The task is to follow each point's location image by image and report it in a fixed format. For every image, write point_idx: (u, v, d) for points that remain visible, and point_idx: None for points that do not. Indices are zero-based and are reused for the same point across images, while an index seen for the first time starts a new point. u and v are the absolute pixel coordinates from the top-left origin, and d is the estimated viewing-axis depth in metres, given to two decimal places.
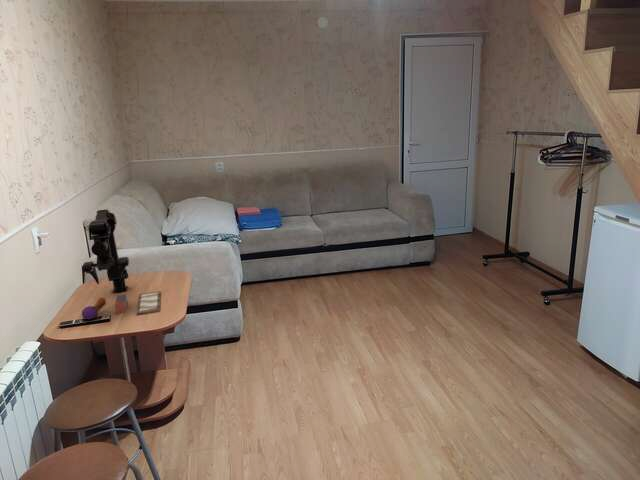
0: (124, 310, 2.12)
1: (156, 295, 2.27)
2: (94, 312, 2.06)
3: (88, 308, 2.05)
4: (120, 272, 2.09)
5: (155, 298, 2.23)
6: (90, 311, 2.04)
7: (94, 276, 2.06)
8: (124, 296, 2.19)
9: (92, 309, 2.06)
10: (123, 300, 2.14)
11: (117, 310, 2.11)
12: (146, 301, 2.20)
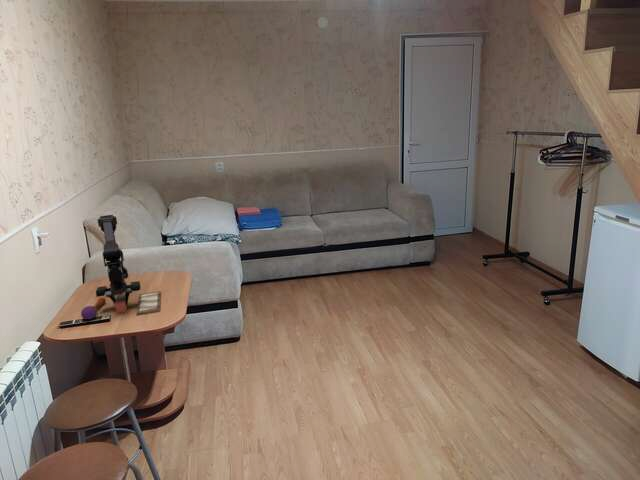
0: (124, 310, 2.12)
1: (156, 295, 2.27)
2: (93, 312, 2.06)
3: (87, 308, 2.05)
4: (127, 297, 2.15)
5: (155, 298, 2.23)
6: (89, 311, 2.05)
7: (113, 299, 2.14)
8: (124, 296, 2.19)
9: (91, 309, 2.06)
10: (123, 300, 2.14)
11: (117, 310, 2.11)
12: (146, 301, 2.20)
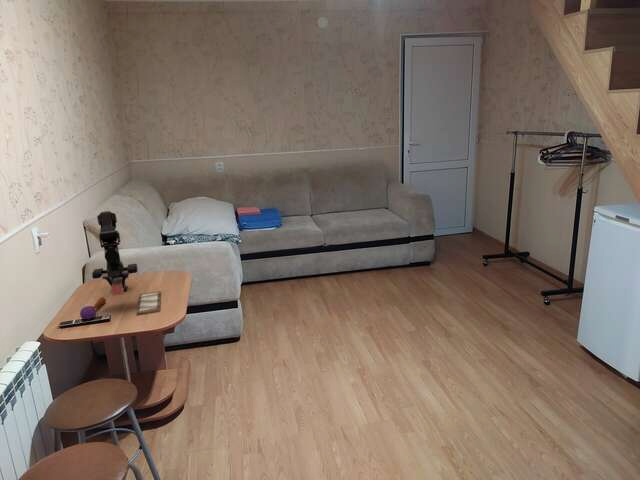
0: (121, 292, 2.10)
1: (156, 295, 2.27)
2: (92, 312, 2.06)
3: (86, 308, 2.05)
4: (123, 279, 2.13)
5: (155, 298, 2.23)
6: (88, 311, 2.05)
7: (110, 282, 2.11)
8: (121, 279, 2.16)
9: (90, 309, 2.06)
10: (120, 283, 2.11)
11: (114, 292, 2.09)
12: (146, 301, 2.20)
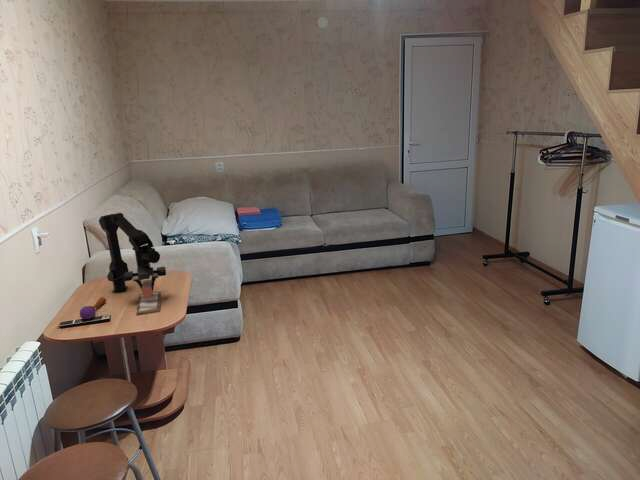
0: (151, 294, 2.18)
1: (156, 295, 2.27)
2: (92, 312, 2.06)
3: (86, 308, 2.05)
4: (153, 282, 2.21)
5: (155, 298, 2.23)
6: (87, 311, 2.05)
7: (140, 284, 2.20)
8: (150, 281, 2.25)
9: (90, 309, 2.06)
10: (149, 285, 2.20)
11: (144, 294, 2.17)
12: (146, 301, 2.20)
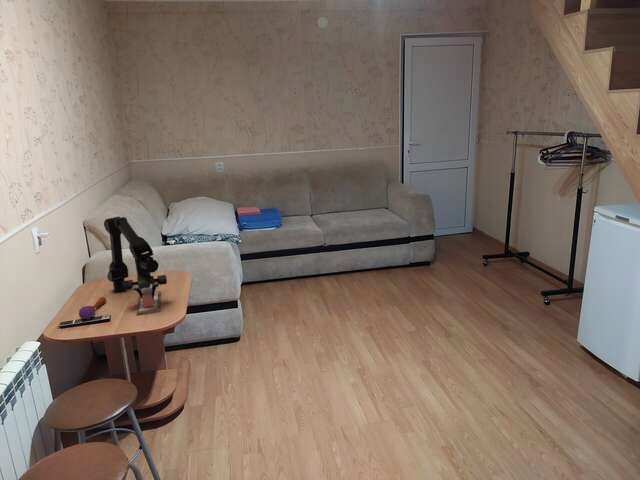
0: (151, 303, 2.13)
1: (156, 295, 2.27)
2: (91, 312, 2.06)
3: (85, 308, 2.05)
4: (153, 290, 2.16)
5: (155, 298, 2.23)
6: (87, 311, 2.05)
7: (140, 293, 2.14)
8: (150, 290, 2.19)
9: (89, 309, 2.06)
10: (150, 294, 2.14)
11: (144, 303, 2.12)
12: None
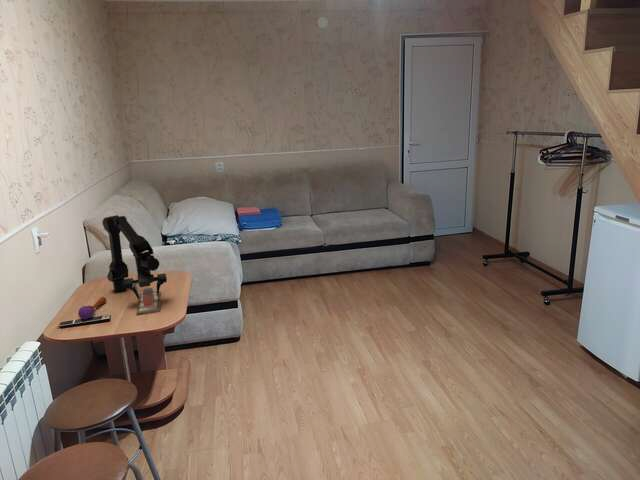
0: (151, 303, 2.15)
1: (156, 295, 2.27)
2: (90, 312, 2.06)
3: (84, 308, 2.06)
4: (158, 288, 2.19)
5: (155, 298, 2.23)
6: (86, 311, 2.05)
7: (135, 292, 2.16)
8: (150, 289, 2.22)
9: (88, 309, 2.06)
10: (150, 294, 2.17)
11: (144, 303, 2.14)
12: None
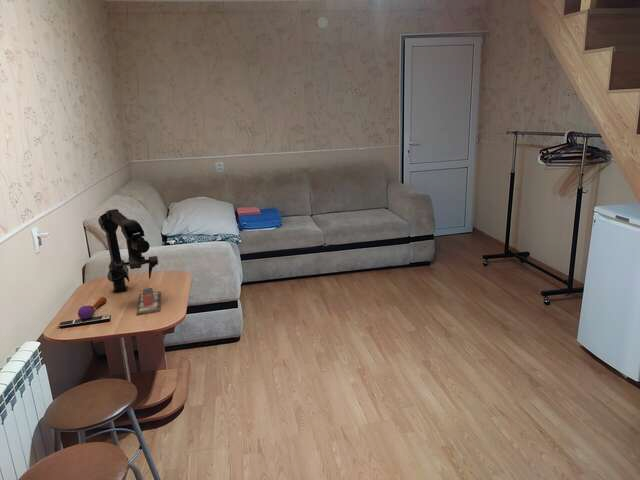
0: (151, 303, 2.15)
1: (156, 295, 2.27)
2: (89, 312, 2.06)
3: (84, 308, 2.06)
4: (150, 270, 2.18)
5: (155, 298, 2.23)
6: (85, 311, 2.05)
7: (125, 274, 2.15)
8: (150, 289, 2.22)
9: (88, 309, 2.06)
10: (150, 294, 2.17)
11: (144, 303, 2.14)
12: None
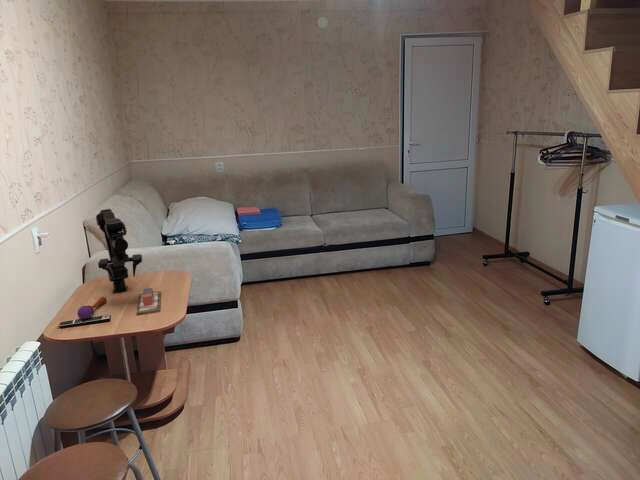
0: (151, 303, 2.15)
1: (156, 295, 2.27)
2: (89, 312, 2.06)
3: (83, 308, 2.06)
4: (134, 268, 2.20)
5: (155, 298, 2.23)
6: (85, 311, 2.05)
7: (109, 272, 2.17)
8: (150, 289, 2.22)
9: (87, 309, 2.06)
10: (150, 294, 2.17)
11: (144, 303, 2.14)
12: None
